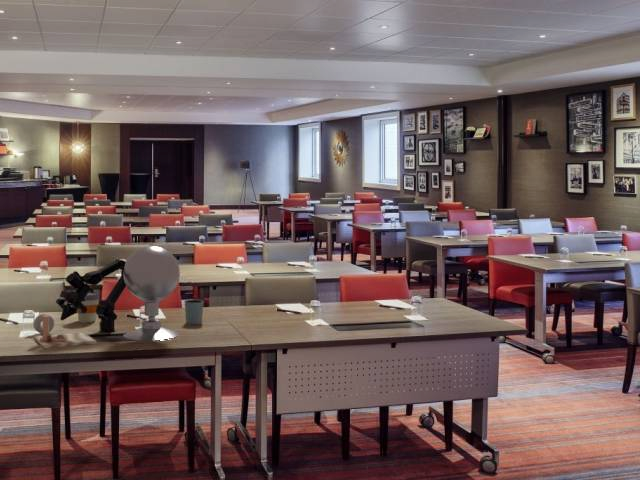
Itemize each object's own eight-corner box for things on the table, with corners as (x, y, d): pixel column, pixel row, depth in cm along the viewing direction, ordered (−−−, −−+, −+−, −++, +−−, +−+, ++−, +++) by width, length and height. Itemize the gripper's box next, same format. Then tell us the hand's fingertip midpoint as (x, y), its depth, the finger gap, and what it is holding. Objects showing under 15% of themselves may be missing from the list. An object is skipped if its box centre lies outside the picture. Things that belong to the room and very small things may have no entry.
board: (83, 334, 422) (83, 326, 422) (96, 343, 404) (96, 334, 403) (34, 338, 410) (34, 330, 410) (44, 348, 391) (44, 339, 391)
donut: (33, 334, 419) (33, 315, 418) (33, 333, 422) (33, 313, 421) (54, 333, 423) (54, 313, 422) (54, 332, 426) (53, 312, 425)
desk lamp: (124, 341, 408) (124, 249, 404) (122, 330, 435) (122, 243, 431) (182, 339, 416) (182, 248, 411) (176, 328, 442) (176, 243, 438)
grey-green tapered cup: (205, 321, 463) (205, 299, 462) (200, 325, 453) (201, 302, 452) (187, 320, 464) (187, 299, 463) (182, 324, 454) (182, 302, 453)
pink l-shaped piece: (67, 338, 406) (67, 315, 405) (65, 340, 400) (65, 317, 399) (41, 338, 404) (41, 315, 403) (39, 341, 399) (39, 317, 397)
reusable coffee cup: (95, 323, 450) (95, 295, 449) (72, 323, 451) (72, 295, 449) (102, 319, 463) (102, 292, 461) (79, 318, 463) (79, 291, 462)
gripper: (58, 282, 418) (39, 307, 410) (81, 286, 406) (62, 312, 399) (72, 295, 425) (53, 320, 417) (95, 300, 413) (76, 326, 406)
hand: (61, 319), depth 410 cm, fingers closed
